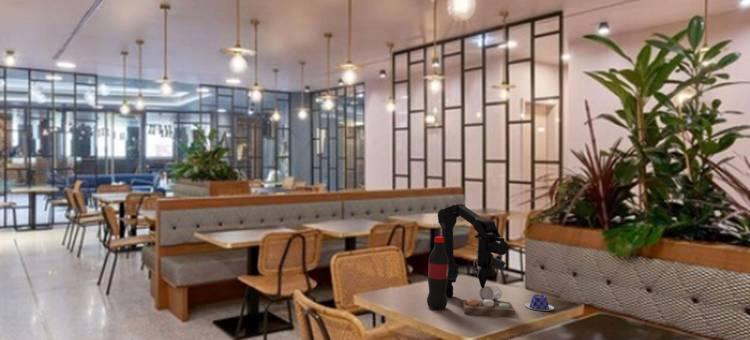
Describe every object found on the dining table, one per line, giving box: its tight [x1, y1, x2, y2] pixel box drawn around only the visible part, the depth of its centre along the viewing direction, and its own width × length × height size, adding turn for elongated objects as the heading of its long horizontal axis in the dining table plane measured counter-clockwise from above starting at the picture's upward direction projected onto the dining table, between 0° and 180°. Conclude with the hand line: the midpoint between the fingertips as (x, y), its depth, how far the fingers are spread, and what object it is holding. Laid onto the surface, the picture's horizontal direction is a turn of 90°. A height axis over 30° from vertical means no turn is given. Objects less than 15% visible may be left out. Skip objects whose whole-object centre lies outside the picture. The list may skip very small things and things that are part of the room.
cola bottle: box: [426, 235, 449, 311], centre depth 222 cm, size 8×8×30 cm
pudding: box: [524, 294, 555, 312], centre depth 228 cm, size 12×12×5 cm
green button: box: [498, 303, 510, 308], centre depth 220 cm, size 4×4×3 cm
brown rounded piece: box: [466, 298, 479, 306], centre depth 221 cm, size 4×4×3 cm
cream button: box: [482, 299, 495, 307], centre depth 220 cm, size 4×4×3 cm
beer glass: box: [478, 284, 503, 301], centre depth 232 cm, size 7×7×15 cm
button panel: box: [461, 299, 516, 318], centre depth 221 cm, size 20×12×2 cm, turn 85°
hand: (482, 287), depth 221 cm, fingers closed
